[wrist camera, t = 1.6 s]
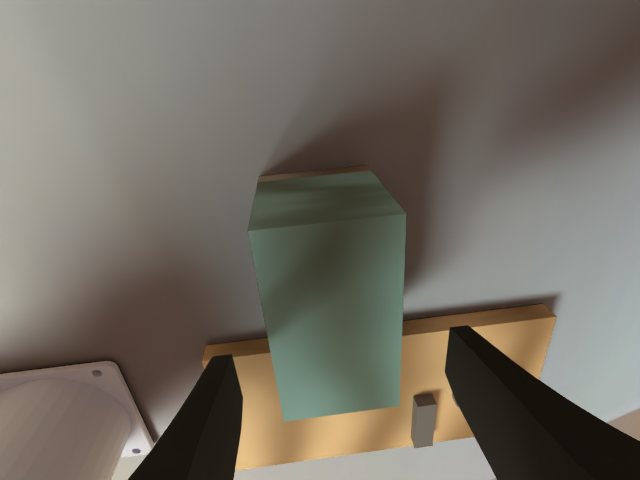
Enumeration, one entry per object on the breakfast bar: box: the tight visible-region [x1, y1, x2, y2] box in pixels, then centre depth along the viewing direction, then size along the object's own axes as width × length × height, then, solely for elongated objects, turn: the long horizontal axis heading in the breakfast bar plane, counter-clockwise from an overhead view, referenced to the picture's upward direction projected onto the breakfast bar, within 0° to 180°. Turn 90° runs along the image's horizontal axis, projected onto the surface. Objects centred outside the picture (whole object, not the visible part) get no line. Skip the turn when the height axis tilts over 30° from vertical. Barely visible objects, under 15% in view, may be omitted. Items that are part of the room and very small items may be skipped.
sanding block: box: [248, 165, 407, 422], centre depth 16 cm, size 5×9×6 cm, turn 4°
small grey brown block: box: [411, 393, 437, 448], centre depth 23 cm, size 1×4×1 cm, turn 4°
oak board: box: [202, 304, 557, 470], centre depth 22 cm, size 20×10×1 cm, turn 94°
